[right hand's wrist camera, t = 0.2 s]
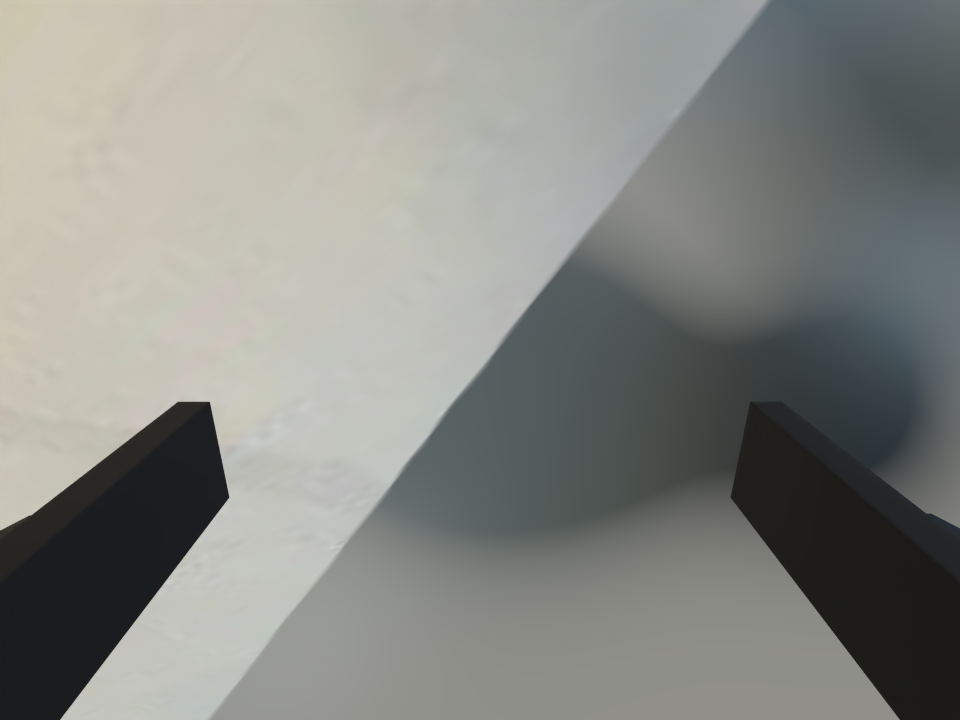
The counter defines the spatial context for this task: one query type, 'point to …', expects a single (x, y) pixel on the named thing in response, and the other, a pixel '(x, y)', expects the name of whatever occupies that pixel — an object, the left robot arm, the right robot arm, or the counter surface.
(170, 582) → the counter surface
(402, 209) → the counter surface
